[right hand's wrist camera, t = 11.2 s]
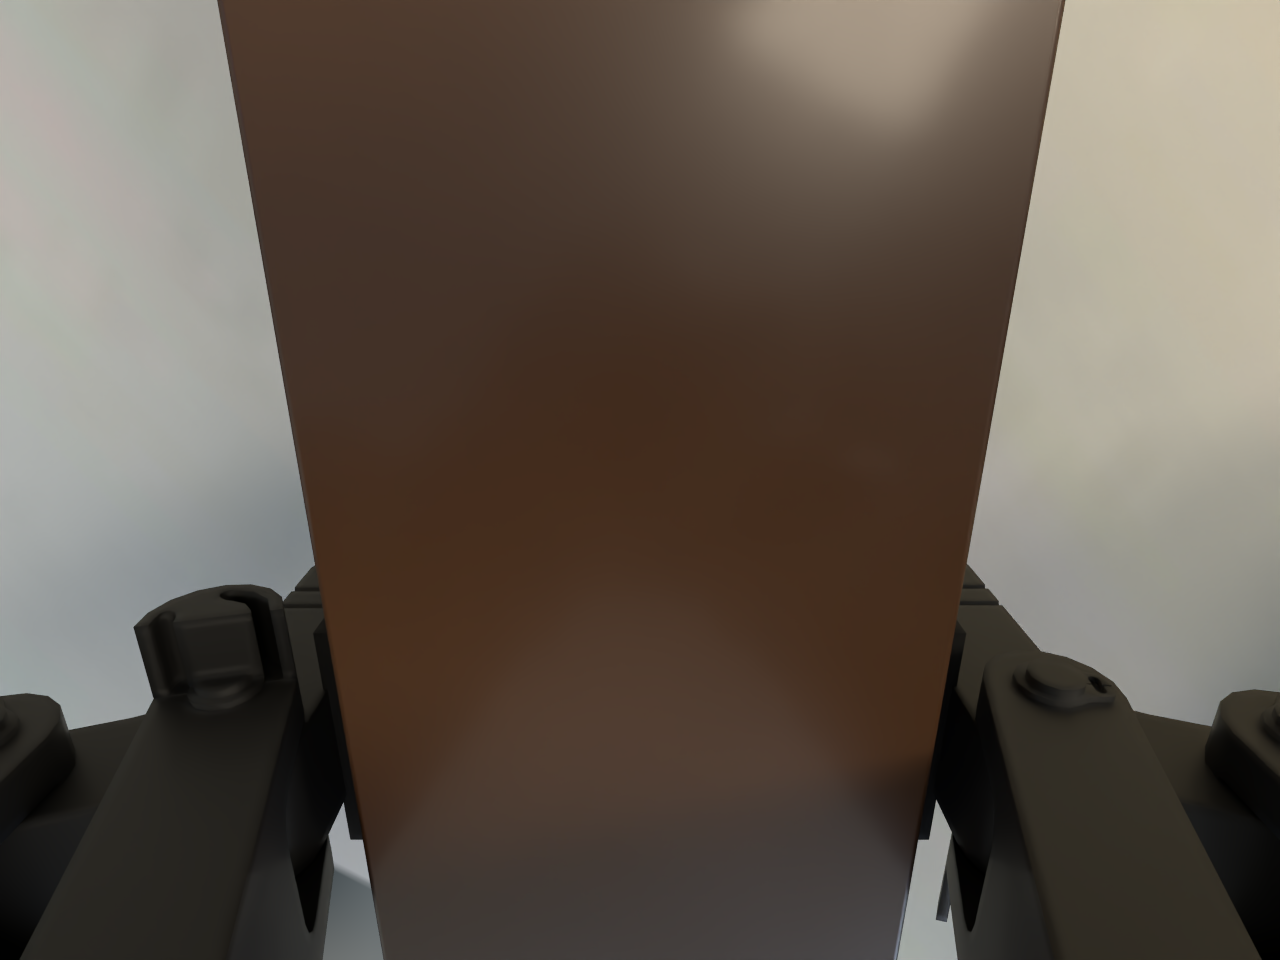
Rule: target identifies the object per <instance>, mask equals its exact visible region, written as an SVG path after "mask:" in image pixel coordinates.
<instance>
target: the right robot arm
mask: <svg viewBox="0 0 1280 960" xmlns="http://www.w3.org/2000/svg"><path fill="white" fill-rule="evenodd" d="M134 630H135V634H136V637H137V641H138V645H139V648H140V652H141V655H142V659H143V662H144V666H145V669H146V673H147V677H148V680H149V684H150V687H151V691H152V694H153V698H154V699H153V701H152V703H151V705H150V707H149V709H148V711H147V713H146V714H145V715H141V716H137V717H133V718H129V719H124V720H119V721H113V722H108V723H103V724H98V725H93V726H88V727H83V728H78V729H73V730H68V727H67V724H66V721H65V718H64V715H63V712H62V709H61V706H60V705H59V704H58V703H57V702H55V701H54V700H53V699H51V698H50V697H49V696H43V695H35V694H28V693H25V694H16V695H7V696H0V960H322V959H323V952H324V944H325V936H326V928H327V921H328V913H329V905H330V897H331V890H332V882H333V874H334V864H333V857H332V851H331V846H330V840H329V835H328V834H329V832H330V830H331V828H332V825H333V823H334V821H335V819H336V817H337V815H338V813H339V811H340V808H341V806H342V804H343V802H344V806H345V812H346V817H347V823H348V828H349V834H350V839H351V840H363V837H362V832H361V826H360V820H359V814H358V808H357V803H356V797H355V791H354V785H353V780H352V774H351V768H350V762H349V757H348V751H347V745H346V739H345V734H344V728H343V722H342V716H341V710H340V705H339V699H338V693H337V687H336V682H335V676H334V670H333V664H332V659H331V653H330V647H329V641H328V635H327V630H326V624H325V618H324V612H323V607H322V601H321V595H320V589H319V584H318V578H317V572H316V566H314V567H312V568H311V569H310V570H309V571H308V572H307V574H306V575H305V576H304V577H303V578H302V580H301V581H300V582H299V583H298V584H297V586H296V587H295V591H292V592H291V593H290V594H289V595H288V596H287V598H286V599H285V600H284V601H283V600H282V597H281V596H280V595H279V594H277V593H276V592H275V591H273V590H272V589H270V588H266V587H261V586H256V585H251V584H250V585H224V586H219V587H214V588H208V589H203V590H198V591H195V592H192V593H189V594H187V595H184V596H181V597H178V598H175V599H172V600H170V601H168V602H166V603H165V604H163V605H161V606H159V607H158V608H156V609H154V610H152V611H150V612H149V613H147V614H146V615H145V616H144V617H143V618H142V619H141V620H140V621H139V622H138V623H137V624H136V625H135V626H134ZM936 799H937V802H938V804H939V806H940V808H941V810H942V812H943V814H944V816H945V818H946V821H947V823H948V825H949V827H950V829H951V831H952V835H951V840H950V846H949V851H948V856H947V861H946V866H945V871H944V876H943V881H942V886H941V892H940V897H939V902H938V908H937V915H936V920H940V921H944V922H947V918H948V913H949V908H950V905H951V911H952V919H953V927H954V934H955V942H956V950H957V958H958V960H1280V692H1271V691H1262V690H1247V691H1240V692H1232V693H1231V694H1230V695H1228V696H1227V697H1226V698H1224V699H1223V700H1222V701H1220V704H1219V707H1218V710H1217V713H1216V716H1215V719H1214V722H1213V725H1212V727H1210V726H1205V725H1200V724H1195V723H1190V722H1185V721H1180V720H1174V719H1169V718H1164V717H1159V716H1154V715H1149V714H1144V713H1141V712H1137V711H1133V709H1132V708H1131V706H1130V704H1129V702H1128V700H1127V698H1126V697H1125V695H1124V694H1123V693H1122V692H1121V691H1120V689H1119V688H1118V687H1117V686H1116V685H1115V683H1114V682H1113V681H1111V680H1110V679H1108V678H1107V677H1105V676H1104V675H1102V674H1101V673H1099V672H1098V671H1096V670H1095V669H1093V668H1091V667H1089V666H1086V665H1084V664H1082V663H1079V662H1077V661H1074V660H1072V659H1070V658H1067V657H1064V656H1059V655H1055V654H1050V653H1046V652H1041V651H1040V650H1039V649H1038V647H1037V646H1036V645H1035V644H1034V643H1033V641H1032V640H1031V639H1030V638H1029V637H1028V636H1027V634H1026V633H1025V632H1024V631H1023V630H1022V628H1021V627H1020V626H1019V625H1018V624H1017V622H1016V621H1015V620H1014V619H1013V618H1012V616H1011V615H1010V614H1009V613H1008V612H1007V611H1006V609H1005V608H1004V607H1003V606H1002V605H999V601H998V600H997V599H996V597H995V596H994V595H993V594H992V593H991V591H990V590H989V589H985V584H984V583H983V582H982V581H981V580H980V578H979V577H978V576H977V575H976V574H975V572H974V571H973V570H972V569H971V568H970V567H969V565H967V564H966V569H965V575H964V581H963V587H962V592H961V598H960V604H959V609H958V615H957V621H956V626H955V632H954V638H953V644H952V649H951V655H950V661H949V666H948V672H947V678H946V683H945V689H944V695H943V701H942V706H941V712H940V718H939V723H938V729H937V735H936V740H935V746H934V752H933V758H932V763H931V769H930V775H929V780H928V786H927V792H926V797H925V803H924V809H923V815H922V820H921V826H920V832H919V837H918V840H929V836H930V831H931V825H932V820H933V814H934V809H935V803H936Z"/></svg>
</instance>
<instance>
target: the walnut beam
mask: <svg viewBox="0 0 1280 960" xmlns="http://www.w3.org/2000/svg"><path fill="white" fill-rule="evenodd" d="M217 1H218V7H219V13H220V19H221V24H222V30H223V36H224V42H225V47H226V53H227V59H228V65H229V70H230V76H231V82H232V88H233V94H234V99H235V105H236V111H237V117H238V122H239V128H240V134H241V140H242V145H243V151H244V157H245V163H246V168H247V174H248V180H249V186H250V192H251V197H252V203H253V209H254V215H255V220H256V226H257V232H258V238H259V243H260V249H261V255H262V261H263V266H264V272H265V278H266V284H267V290H268V295H269V301H270V307H271V313H272V318H273V324H274V330H275V336H276V341H277V347H278V353H279V359H280V365H281V370H282V376H283V382H284V388H285V393H286V399H287V405H288V411H289V416H290V422H291V428H292V434H293V439H294V445H295V451H296V457H297V463H298V468H299V474H300V480H301V486H302V491H303V497H304V503H305V509H306V514H307V520H308V526H309V532H310V537H311V543H312V549H313V555H314V561H315V566H316V572H317V578H318V584H319V589H320V595H321V601H322V607H323V612H324V618H325V624H326V630H327V635H328V641H329V647H330V653H331V659H332V664H333V670H334V676H335V682H336V687H337V693H338V699H339V705H340V710H341V716H342V722H343V728H344V734H345V739H346V745H347V751H348V757H349V762H350V768H351V774H352V780H353V785H354V791H355V797H356V803H357V808H358V814H359V820H360V826H361V832H362V837H363V843H364V849H365V855H366V860H367V866H368V872H369V878H370V883H371V889H372V895H373V901H374V906H375V912H376V918H377V924H378V929H379V935H380V941H381V947H382V953H383V958H384V960H897V957H898V951H899V946H900V940H901V934H902V929H903V923H904V917H905V911H906V906H907V900H908V894H909V889H910V883H911V877H912V872H913V866H914V860H915V854H916V849H917V843H918V837H919V832H920V826H921V820H922V815H923V809H924V803H925V797H926V792H927V786H928V780H929V775H930V769H931V763H932V758H933V752H934V746H935V740H936V735H937V729H938V723H939V718H940V712H941V706H942V701H943V695H944V689H945V683H946V678H947V672H948V666H949V661H950V655H951V649H952V644H953V638H954V632H955V626H956V621H957V615H958V609H959V604H960V598H961V592H962V587H963V581H964V575H965V569H966V564H967V558H968V552H969V547H970V541H971V535H972V530H973V524H974V518H975V512H976V507H977V501H978V495H979V490H980V484H981V478H982V473H983V467H984V461H985V455H986V450H987V444H988V438H989V433H990V427H991V421H992V416H993V410H994V404H995V398H996V393H997V387H998V381H999V376H1000V370H1001V364H1002V359H1003V353H1004V347H1005V341H1006V336H1007V330H1008V324H1009V319H1010V313H1011V307H1012V302H1013V296H1014V290H1015V284H1016V279H1017V273H1018V267H1019V262H1020V256H1021V250H1022V245H1023V239H1024V233H1025V227H1026V222H1027V216H1028V210H1029V205H1030V199H1031V193H1032V188H1033V182H1034V176H1035V170H1036V165H1037V159H1038V153H1039V148H1040V142H1041V136H1042V131H1043V125H1044V119H1045V113H1046V108H1047V102H1048V96H1049V91H1050V85H1051V79H1052V74H1053V68H1054V62H1055V56H1056V51H1057V45H1058V39H1059V34H1060V28H1061V22H1062V17H1063V11H1064V5H1065V0H217Z"/></svg>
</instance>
